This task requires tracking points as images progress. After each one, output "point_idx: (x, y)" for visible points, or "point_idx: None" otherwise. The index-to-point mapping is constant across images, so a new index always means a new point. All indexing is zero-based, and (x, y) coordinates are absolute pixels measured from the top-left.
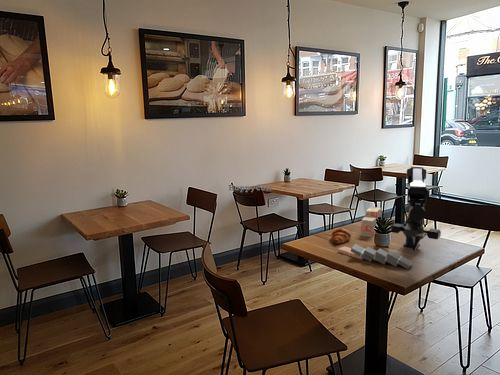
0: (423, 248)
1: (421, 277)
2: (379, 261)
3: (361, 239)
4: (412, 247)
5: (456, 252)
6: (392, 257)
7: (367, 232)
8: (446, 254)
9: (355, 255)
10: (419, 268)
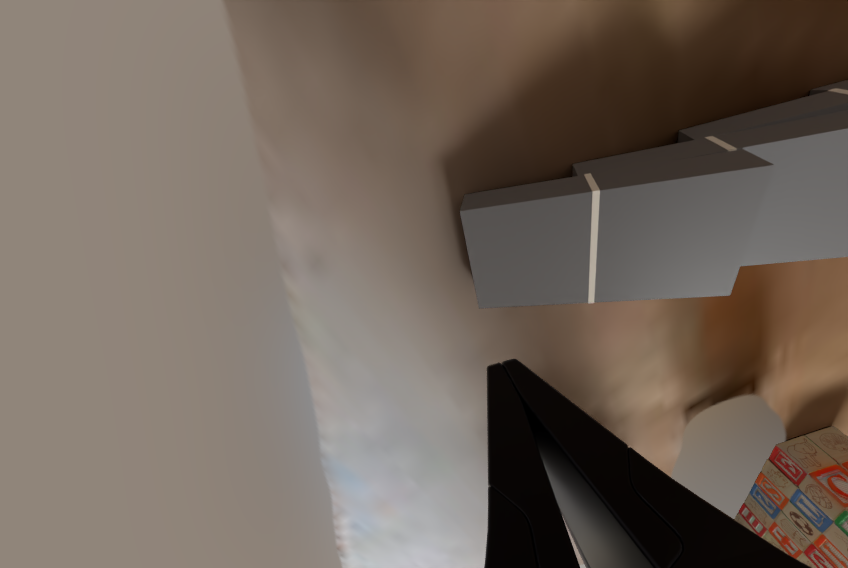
0: None
1: (257, 91)
2: (748, 113)
3: (834, 396)
4: (542, 389)
5: (390, 548)
6: (678, 172)
7: (825, 458)
8: (409, 516)
9: None
10: (405, 282)
